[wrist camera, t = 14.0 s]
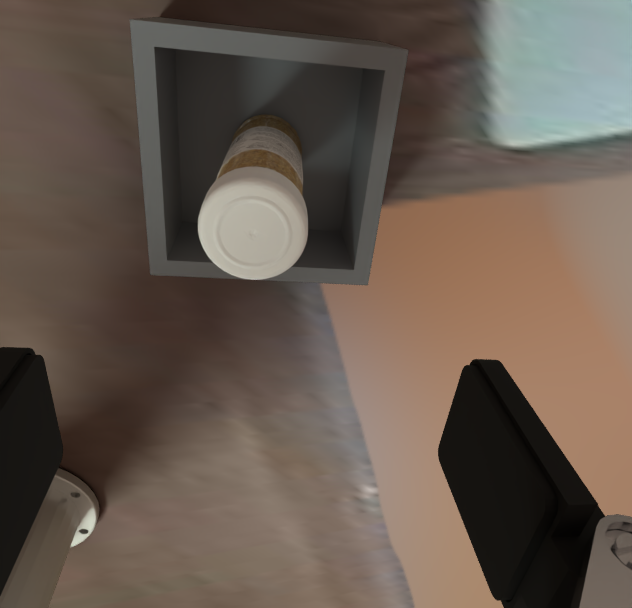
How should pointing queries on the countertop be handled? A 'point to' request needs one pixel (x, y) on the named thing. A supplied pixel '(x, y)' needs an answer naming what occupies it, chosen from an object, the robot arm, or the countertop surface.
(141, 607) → the countertop surface
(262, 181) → the sprinkles bottle
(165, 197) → the bin
